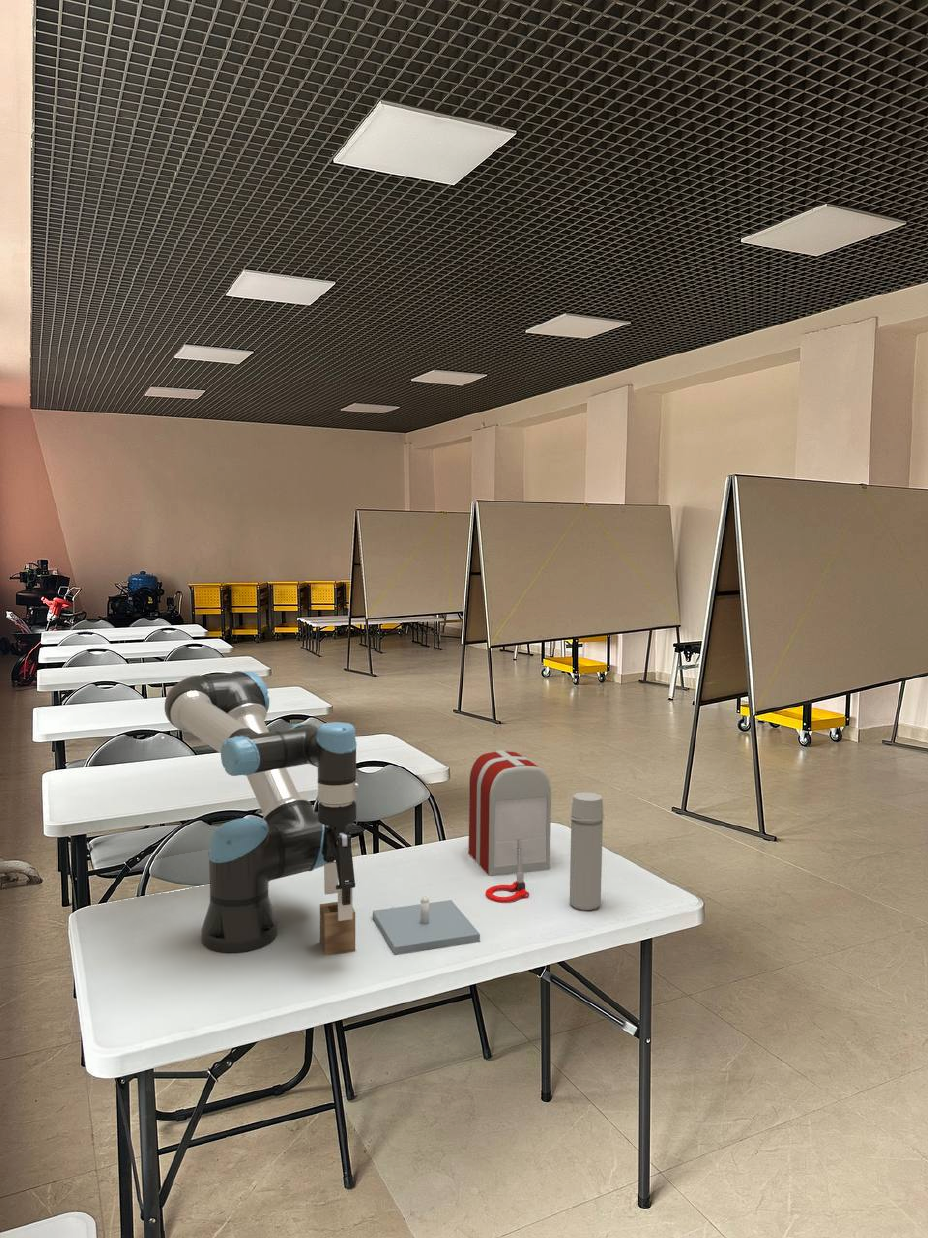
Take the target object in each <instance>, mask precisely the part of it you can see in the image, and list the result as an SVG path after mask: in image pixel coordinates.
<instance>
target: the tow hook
mask: <svg viewBox="0 0 928 1238" xmlns="http://www.w3.org/2000/svg"><path fill="white" fill-rule="evenodd" d="M517 847H518V848H517V872H516V874H515V875H516V881H514V882H513V883H512V884H497V885H493V886H491V887H488V888H487V889H486V890H485V897H486V898H487V899H488V900H490V901H491V902H495V903H503V904H504V903H512V902H515V901H518V900H520V899H521V898H525V899H527V898H529V897H530V892H528V891H527V890H526V883H525V880H524V879H525V877H524V875H525V874H524V872H523V871H522V848H521V840H520V839H518V840H517ZM499 891H510V892H513V891H515V893H514V894H512V895H509V896H498V895H495V894H494V893H496V892H499Z"/></svg>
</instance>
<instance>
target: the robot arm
mask: <svg viewBox="0 0 928 1238" xmlns="http://www.w3.org/2000/svg"><path fill="white" fill-rule="evenodd" d="M268 690H269V689H268V688H267V685H266V683H265V681H264V680H263V678H262V677H261V676H260V675H258V674H257V673H256V672H253V671H241V670H238V671H236V670H235V671H233V672H229V673H213V674H204V675H192V676H189V677H186V678H184V679H181V680H180V681H178V682H177V683H175V684H174V685H173V686H172V687H171V689H170V690H169V691H168V693H167V695H166V697H165V700H164V714H165V717H166V718H167V721H168V722H170V724H171V725H172V726H173V727H174V728H176V729H177V730H179V731H180V732H184V733H190V734H192V735H194V736H195V737H197V738H198V739H200V740H201V741H202V742H204V743H205V744H207V745H208V746H209V747H211V748H212V749H214V750H215V751H216V752H217V753H219V754H220V760H221V764H222V767H223V768H224V771H225V772H226V773H227V774H228V775H229V776H231V777H238V776H246V778H247V780H248V782H249V786H250V788H251V789H252V792H253V795H254V796H255V798H256V800H257V803H258V806H259V808H260V811H261V812H262V814H263V817H262V818H261V817H248V818H246V817H243V818H236V819H233V820H230V821H227V822H225V823H223V824H220V825H219V826H218V827H216V828H215V829H214V831H213V832H211V835H210V837H209V843H208V844H209V846H208V848H209V849H208V852H207V855H208V856H207V857H208V864H209V865H208V867H209V871H208V873H209V904H208V908H207V911H206V913H205V917H204V921H203V924H202V927H201V942H202V945H204V947H206V948H207V949H210V950H211V951H215V952H220V953H243V952H248V951H253V950H257V949H259V948H262V947H264V946H266V945H268V944H270V943H272V942H273V941H274V940H275V939H276V937H277V936H278V920H277V917H276V914H275V911H274V908H273V905H272V903H271V900H270V897H269V882H272V881H274V880H278V879H283V878H286V877H289V876H290V877H291V876H294V875H298V874H302V873H305V872H312V871H314V870H316V869H319V868H322V867H323V869H324V870H323V871H324V872H323V873H324V874H323V878H324V879H323V880H324V881H323V882H324V883H323V884H324V887H323V888H324V889H323V890H324V895H325V896H326V895H333V894H337V902H338V921H343V920H350V919H353V909H354V906H353V889H354V888H355V887H356V882H355V881H356V880H355V872H354V861H353V849H352V835H351V834H350V831H347V826H348V825H351V824H353V823H355V822H356V820H357V802H356V801H355V800H356V799H357V791H356V789H358V788H359V787H360V786H359V783H358V782H357V783H356V781H357V746H358V745H357V744H358V743H357V740H356V729H355V727H354V725H353V724H351V723H348V722H338V721H337V722H336V721H334V722H333V721H332V722H327V723H322V724H320V725H319V726H316V725H312V724H310V723H307V724H306V723H297V724H294V725H293V726H291V727H290V728H289V729H284V730H283V729H282V730H276V731H270V730H269V729H268V727H267V724H266V723H265V720H266V718H267V715H268V711H269V708H270V697H269V695H268V694H269V691H268ZM303 765H311V766H314V767H317V784H316V785H317V802H319V803H318V805H317V811H315V810H314V807H313V805H312V804H311V801H309V800H308V799H306V798H301V796H300V795H299V792H298V791H297V789H296V786H295V783H294V782H293V779H292V778H291V775H290V774H289V771H288V769H287V768H292V767H299V766H303Z"/></svg>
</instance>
